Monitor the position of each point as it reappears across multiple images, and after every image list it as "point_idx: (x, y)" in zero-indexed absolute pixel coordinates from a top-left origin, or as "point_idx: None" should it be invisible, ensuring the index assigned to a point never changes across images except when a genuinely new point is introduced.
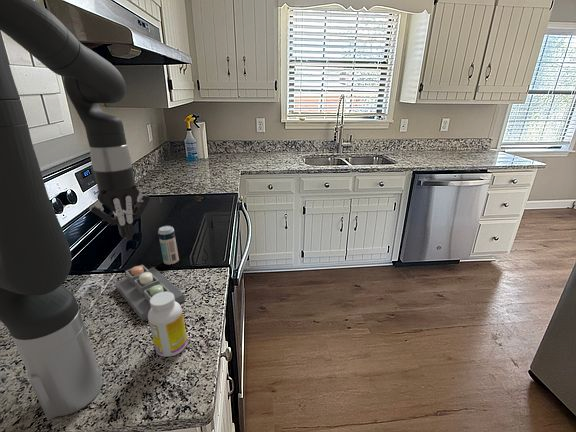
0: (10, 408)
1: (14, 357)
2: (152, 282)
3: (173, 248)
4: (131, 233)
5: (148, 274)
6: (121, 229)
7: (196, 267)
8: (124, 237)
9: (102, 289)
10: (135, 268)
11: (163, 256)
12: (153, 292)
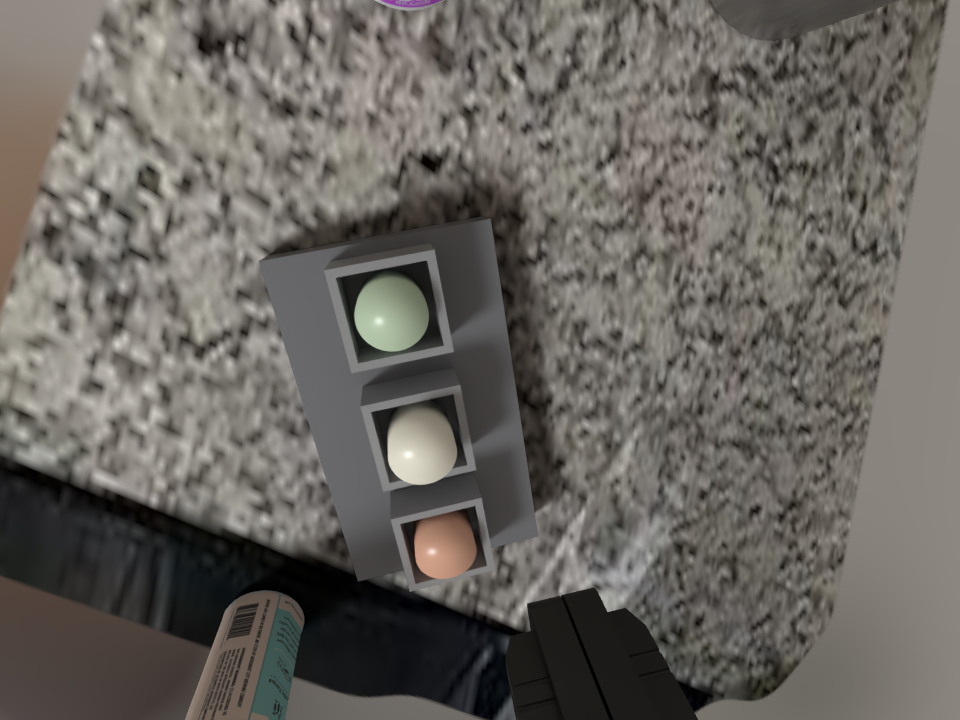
0: (932, 17)
1: (873, 281)
2: (396, 403)
3: (220, 668)
4: (544, 642)
5: (405, 457)
6: (675, 709)
7: (145, 514)
8: (610, 612)
9: (577, 530)
10: (451, 560)
11: (293, 642)
12: (413, 286)
